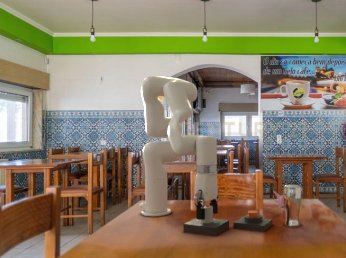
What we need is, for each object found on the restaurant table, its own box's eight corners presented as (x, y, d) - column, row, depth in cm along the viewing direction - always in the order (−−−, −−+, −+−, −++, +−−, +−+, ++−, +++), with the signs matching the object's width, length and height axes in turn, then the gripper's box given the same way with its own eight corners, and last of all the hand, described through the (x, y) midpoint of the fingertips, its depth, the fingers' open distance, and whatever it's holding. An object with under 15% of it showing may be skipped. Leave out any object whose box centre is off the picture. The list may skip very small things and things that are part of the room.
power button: (246, 217, 133) (246, 212, 133) (250, 215, 137) (250, 210, 137) (256, 218, 132) (256, 213, 132) (260, 216, 135) (260, 211, 135)
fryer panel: (183, 232, 127) (183, 223, 127) (199, 224, 137) (199, 216, 137) (215, 236, 122) (215, 227, 122) (229, 228, 132) (229, 219, 132)
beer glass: (301, 227, 132) (300, 187, 132) (282, 226, 134) (282, 187, 134) (301, 222, 139) (301, 184, 139) (283, 222, 141) (283, 184, 141)
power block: (233, 228, 132) (233, 217, 132) (243, 221, 141) (243, 211, 141) (263, 231, 127) (263, 220, 127) (272, 224, 136) (272, 214, 136)
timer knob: (209, 223, 127) (209, 207, 127) (198, 222, 129) (198, 206, 129) (214, 221, 131) (214, 205, 131) (204, 219, 133) (204, 204, 133)
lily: (295, 221, 146) (302, 199, 149) (268, 210, 146) (276, 188, 149) (287, 222, 157) (294, 202, 161) (263, 212, 157) (270, 192, 160)
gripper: (209, 167, 139) (209, 210, 139) (185, 171, 123) (185, 221, 123) (226, 167, 136) (226, 212, 136) (204, 172, 120) (204, 222, 120)
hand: (207, 216), depth 129 cm, fingers open, 9 cm apart
